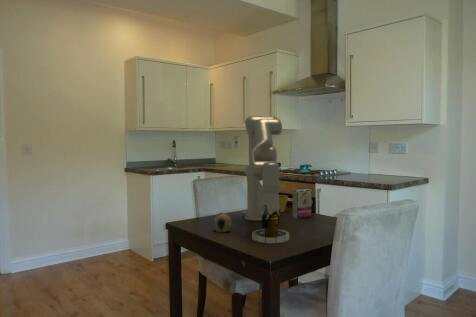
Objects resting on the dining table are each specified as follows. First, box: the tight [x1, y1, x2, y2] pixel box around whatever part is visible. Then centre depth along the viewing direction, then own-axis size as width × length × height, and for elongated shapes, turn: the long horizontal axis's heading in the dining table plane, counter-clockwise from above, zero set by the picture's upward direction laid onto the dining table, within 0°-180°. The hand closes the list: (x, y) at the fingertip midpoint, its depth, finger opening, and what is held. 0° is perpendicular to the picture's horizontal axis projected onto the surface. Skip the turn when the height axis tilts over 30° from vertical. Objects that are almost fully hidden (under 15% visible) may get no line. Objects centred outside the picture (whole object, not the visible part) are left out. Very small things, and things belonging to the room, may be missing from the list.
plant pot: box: [279, 194, 289, 213], centre depth 240 cm, size 10×10×10 cm
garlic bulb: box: [213, 212, 233, 233], centre depth 188 cm, size 9×8×10 cm
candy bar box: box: [292, 188, 313, 220], centre depth 221 cm, size 11×5×16 cm, turn 120°
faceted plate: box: [251, 228, 290, 244], centre depth 175 cm, size 17×17×2 cm
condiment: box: [262, 211, 280, 237], centre depth 175 cm, size 7×8×12 cm
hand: (270, 225), depth 175 cm, fingers open, 9 cm apart
